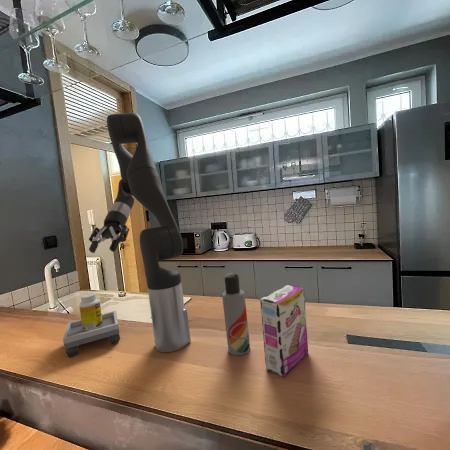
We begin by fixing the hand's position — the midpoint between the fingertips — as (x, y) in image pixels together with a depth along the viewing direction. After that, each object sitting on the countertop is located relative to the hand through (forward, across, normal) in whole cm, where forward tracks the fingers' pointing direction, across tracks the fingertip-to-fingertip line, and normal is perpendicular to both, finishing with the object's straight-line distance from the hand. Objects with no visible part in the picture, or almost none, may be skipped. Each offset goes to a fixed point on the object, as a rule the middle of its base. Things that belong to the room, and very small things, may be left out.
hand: (101, 251), depth 91 cm
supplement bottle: (+24, +4, +6) cm, 26 cm away
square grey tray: (+28, +5, +8) cm, 29 cm away
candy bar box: (+31, +62, +5) cm, 70 cm away
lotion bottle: (+28, +50, +8) cm, 58 cm away
